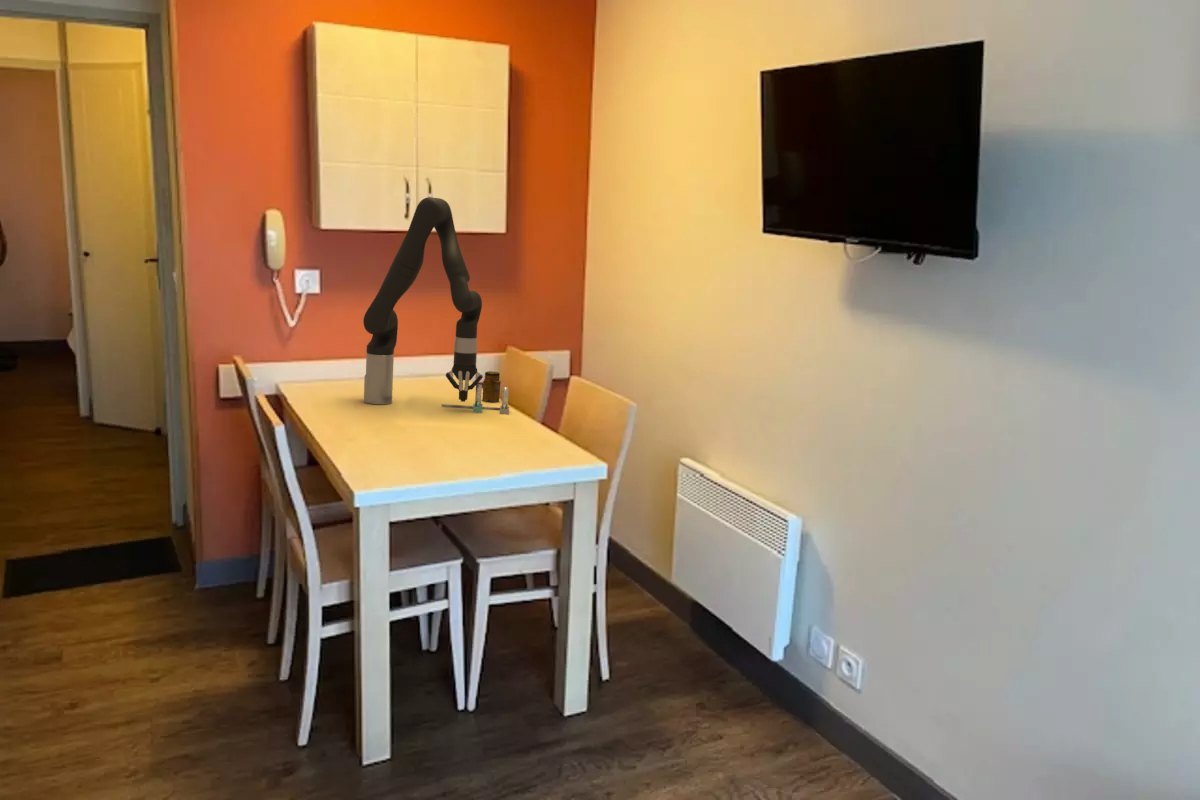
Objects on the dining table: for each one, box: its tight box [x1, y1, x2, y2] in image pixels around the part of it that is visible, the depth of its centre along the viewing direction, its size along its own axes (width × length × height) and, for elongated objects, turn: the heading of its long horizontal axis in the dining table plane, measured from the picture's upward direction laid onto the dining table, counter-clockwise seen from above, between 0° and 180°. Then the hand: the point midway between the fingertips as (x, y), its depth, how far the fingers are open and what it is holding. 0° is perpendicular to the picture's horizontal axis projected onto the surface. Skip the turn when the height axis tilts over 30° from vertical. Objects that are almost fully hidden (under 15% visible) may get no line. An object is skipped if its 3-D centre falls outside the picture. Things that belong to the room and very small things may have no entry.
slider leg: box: [472, 383, 484, 414], centre depth 318 cm, size 3×5×9 cm, turn 4°
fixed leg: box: [499, 386, 510, 415], centre depth 318 cm, size 3×5×9 cm, turn 4°
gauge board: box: [441, 403, 500, 411], centre depth 317 cm, size 24×14×2 cm, turn 94°
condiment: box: [481, 370, 501, 404], centre depth 335 cm, size 7×8×12 cm
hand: (463, 401), depth 317 cm, fingers closed
